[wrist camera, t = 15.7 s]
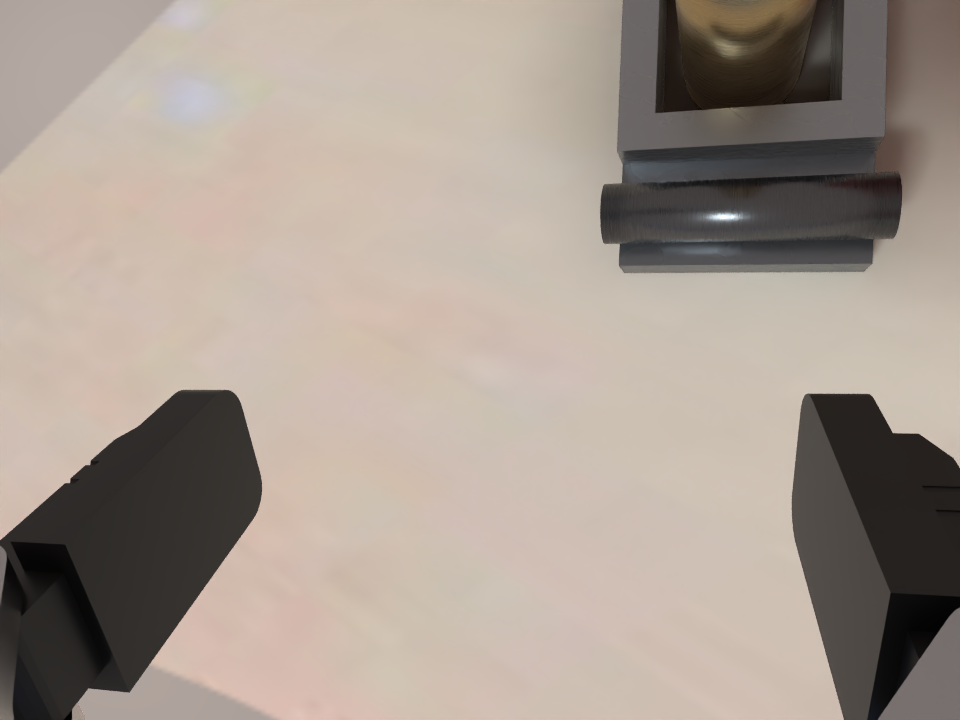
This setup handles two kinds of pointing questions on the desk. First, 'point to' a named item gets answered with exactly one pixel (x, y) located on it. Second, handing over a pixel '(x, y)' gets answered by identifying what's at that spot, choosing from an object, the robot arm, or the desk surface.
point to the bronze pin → (742, 49)
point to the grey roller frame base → (752, 163)
